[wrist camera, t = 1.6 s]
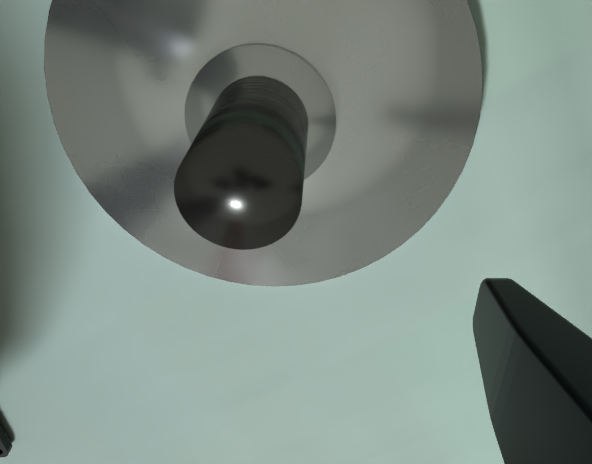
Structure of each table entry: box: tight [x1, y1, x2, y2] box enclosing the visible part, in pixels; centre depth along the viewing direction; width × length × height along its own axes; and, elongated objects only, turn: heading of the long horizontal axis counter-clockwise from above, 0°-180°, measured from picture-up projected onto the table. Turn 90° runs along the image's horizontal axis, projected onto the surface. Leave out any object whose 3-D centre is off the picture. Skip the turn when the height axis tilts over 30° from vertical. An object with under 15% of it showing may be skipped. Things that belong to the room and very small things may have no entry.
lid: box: [44, 0, 483, 286], centre depth 13 cm, size 13×13×5 cm
